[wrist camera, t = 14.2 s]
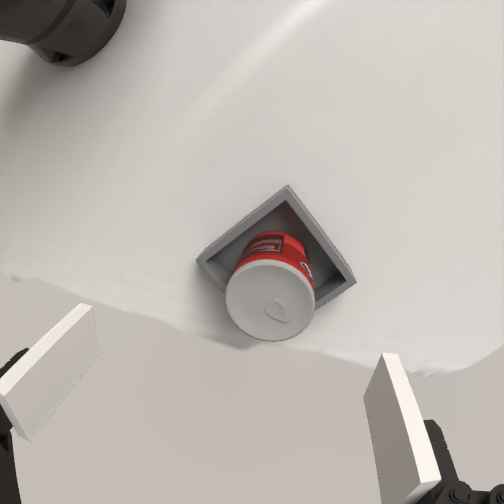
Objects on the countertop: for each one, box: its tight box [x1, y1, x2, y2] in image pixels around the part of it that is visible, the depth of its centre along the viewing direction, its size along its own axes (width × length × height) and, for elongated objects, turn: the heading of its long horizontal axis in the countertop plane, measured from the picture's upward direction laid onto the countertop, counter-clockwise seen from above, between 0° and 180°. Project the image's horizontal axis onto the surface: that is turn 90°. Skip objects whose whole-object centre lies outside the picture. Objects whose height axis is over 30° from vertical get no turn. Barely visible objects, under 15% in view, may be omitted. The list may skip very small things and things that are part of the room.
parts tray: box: [196, 185, 357, 311], centre depth 36 cm, size 13×13×4 cm
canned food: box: [225, 231, 315, 342], centre depth 32 cm, size 8×8×11 cm
